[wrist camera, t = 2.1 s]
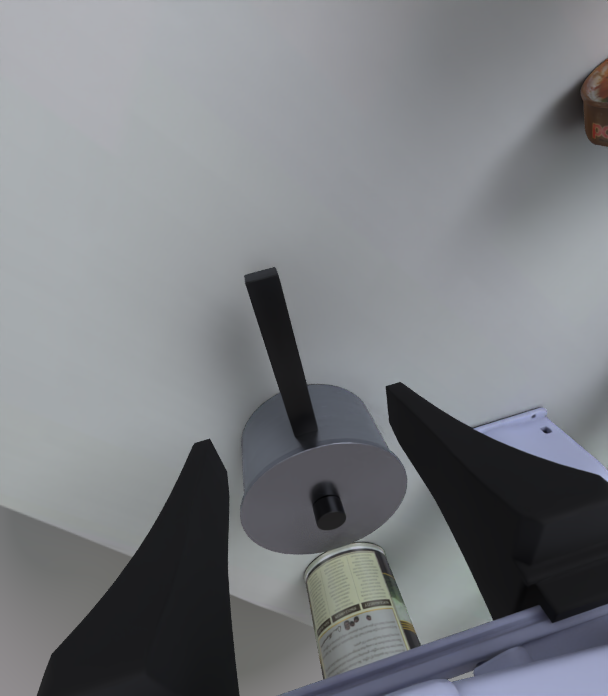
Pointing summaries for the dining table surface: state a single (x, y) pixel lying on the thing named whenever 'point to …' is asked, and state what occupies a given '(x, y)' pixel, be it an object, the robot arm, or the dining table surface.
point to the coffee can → (356, 608)
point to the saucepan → (310, 450)
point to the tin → (596, 105)
